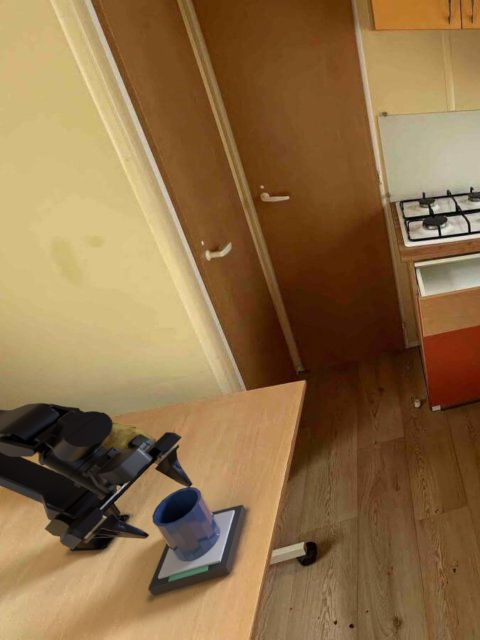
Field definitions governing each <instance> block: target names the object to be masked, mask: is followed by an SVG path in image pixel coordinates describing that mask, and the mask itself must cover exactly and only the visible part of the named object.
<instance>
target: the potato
mask: <svg viewBox="0 0 480 640" xmlns="http://www.w3.org/2000/svg"><path fill="white" fill-rule="evenodd" d="M112 423H113V427H112V431H111V433H110V434H109V435H108V437H107V438H106V439H105V441H104V442H103V443H102V445H104V446H105V447H107V448H109V449H110V448H111V447H114V448H117V449H119V450H121V451H124V450H125V449H126V448H128V446H127V443H128V442H129V441H130V440H132V439H133V438H134V437H135V436H136V435H139V434H142V435H144V436H146V437H148V438H149V439H151V440H152V441H153V442H154V443H156V442H157V440H156V438H154V437H153V436H152V435H150V434H149V433H147V432H145V431H143V430H142V429H140V428H138V427H136V426H134V425H129V424H125V425H123V424H121V423H118V422H112Z"/></svg>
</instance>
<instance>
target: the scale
mask: <svg viewBox="0 0 480 640" xmlns="http://www.w3.org/2000/svg"><path fill="white" fill-rule="evenodd" d="M211 512H212V513H213V515H214V517H215V519H216V521H217V523H218V525H219V527H220V535H219V538H218V540H217V542H216V543H215V545H214V546H213V547H212V548H211V549H210V550H209V551H208V552H207V553H206V554H205V555H203V556H201V557H200V558H198V559H196V560H193V561H188V562H184V561H180V560H179V559H178V558H177V557H176V556H175V555H174V553H173V552H172V550H171V549H170V547H169V546H168V544H167V543H166V542H165V543H166V544H165V546H164V548H163V551H162V554H161V556H160V558H159V561H158V563H157V566H156V568H155V571H154V573H153V575H152V578H151V580H150V584H149V585H148V588H147V590H148V591H149V592H150V594H152V595H151V596H153V597H154V596H157V595H158V596H159V595H161V594H162V595H163V594H165V593H168V592H172V591H175V590H179V589H182V588H186V587H189V586H192V585H196V584H200V583H203V582H207V581H211V580H214V579H217V578H221V577H224V576H228V575H230V574H231V572H232V567H233V564H234V560H235V557H236V552H237V549H238V545H239V542H240V541H239V540H240V538H241V537H240V536H241V533H242V529H243V526H244V523H245V522H244V521H245V519H246V514H247V510H246V508H245V505H244V504H238V505H234V506H232V507H228V508H224V509H218V510H215V511H211Z"/></svg>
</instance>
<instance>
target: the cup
mask: <svg viewBox="0 0 480 640" xmlns="http://www.w3.org/2000/svg"><path fill="white" fill-rule="evenodd" d="M212 512H213V511H212V509H211V507H210V506H209V504H208V503H207V501H206V499H205V497H204V495H203V493H202V491H201V490H200V489H199V488H197V487H193V486H190V487H186V486H185V487H183V488H180V489H177V490H175V491H172V492H171V493H170V494H168V495H167V496H166V497H164V498H163V499H162V500H161V501H160V502H159V503H158V505H157V506H156V507H155V508H154V511H153V513H152V515H151V517H152V523H153V525H154V526H155V527H156V529H157V531H158V532H159V534H160V535H161V537H162V538H163V540H164V541H165V543H167V544H168V546H169V547H170V549H171V550H172V552H173V553H174V555H175V556H176V557H177V558H178V559H179V560H180V561H184V562H188V561H193V560H196V559H198V558H200V557H201V556H203V555H205V554H206V553H207V552H208V551H209V550H210V549H211V548H212V547H213V546H214V545H215V543H216V542H217V540H218V538H219V535H220V527H219V525H218V523H217V521H216V519H215V517H214V515H213V513H212Z"/></svg>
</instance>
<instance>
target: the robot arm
mask: <svg viewBox="0 0 480 640" xmlns="http://www.w3.org/2000/svg"><path fill="white" fill-rule="evenodd" d="M113 423H114V422H113V420H112V418H111V417H110V416H109V415H108V413H105V412H101V411H97V410H96V411H95V410H90V411H83V410H81V409H80V407H73V406H65V405H60V404H55V403H46V402H35V403H28V404H27V403H26V404H25V405H21V406H18V407H16V408H14V409H0V487H2V488H4V489H7V490H9V491H12V492H14V493H15V494H16V493H17V494H19V495H21V496H24V497H26V498H28V499H31V500H33V501H36V502H38V503H40V504H42V506H43V509H44V511H45V514H46V517H47V518H46V519H48V521H49V523H48V524H47V525H46V527H44V530H45V531H46V532H48V533H49V534H50V535H52V536H54V537H58V538H59V543H60V544H61V545H62V546H64V547H66V548H68V549H69V551H70V552H72V553H73V552H90V551H91V552H92V551H93V552H94V551H105V550H106V549H107V548H108V547H109V546H110V544H111V543H112V541H113V540H114V539H115V538H126V539H139V540H146V539H148V537H150V534H149V533H148V532H146V531H145V530H144V529H141V528H139V527H137V526H135V525H132V524H131V523H127V521H128V520H129V518H130V515H129V514H122V512H121V510H120V508H119V507H118V506H117V505H116V502H117V501H118V500H119V499H120V498H121V497H122V496H123V495H124V494H125V493H126V492H127V491H128V490H129V488H131V487H132V486H133V485H134V483H136V482H137V481H138V480H139V478H141V477H142V475H143V474H145V472H147V470H148V469H149V468H151V466H152V465H153V464H155V465H156V467H154V470H155V471H157V472H158V473H161V474H163V475H164V476H165V477H168V478H169V479H171V480H173V481H175V483H178V484H180V485H181V486H184V487H185V488H186V487H192V486H193V482H192V480H191V479H190V478H189V476H188V474H187V472H186V471H185V470H184V468H183V467H182V465H181V463H180V460H179V458H178V452H177V451H178V449H179V448H180V445H179V444H177V443H178V442H179V441H180V440H181V439H182V436H181V435H179V434H178V433H176V432H175V431H174V432H173V431H166V432H165V433H164V434H163V435H161V437H160V438H159V439H157V440H156V443H154V442H153V441H152V440H151V439H149V438H148V437H146V436H144V435H142V434H139V435H136V436H135V437H134V438H133V439H132V440H130V441H129V442H128V443H127V446H128V448H126V449H125V450H124V451H121V450H119V449H117V448H114V447H111V448H110V449H109V448H107V447H105V446H104V445H102V443H103V442H104V441H105V439H106V438H107V437H108V435H109V434H110V433H111V431H112V427H113ZM176 444H177V445H176ZM36 454H38V460H37V461H38V463H37V462H35V461H32V460H30V459H28V457H29V458H31V457H33V456H35V455H36ZM50 468H51V469H53V470H51V469H50ZM54 470H55V471H54ZM56 471H57V472H56ZM118 486H119V489H118Z"/></svg>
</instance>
